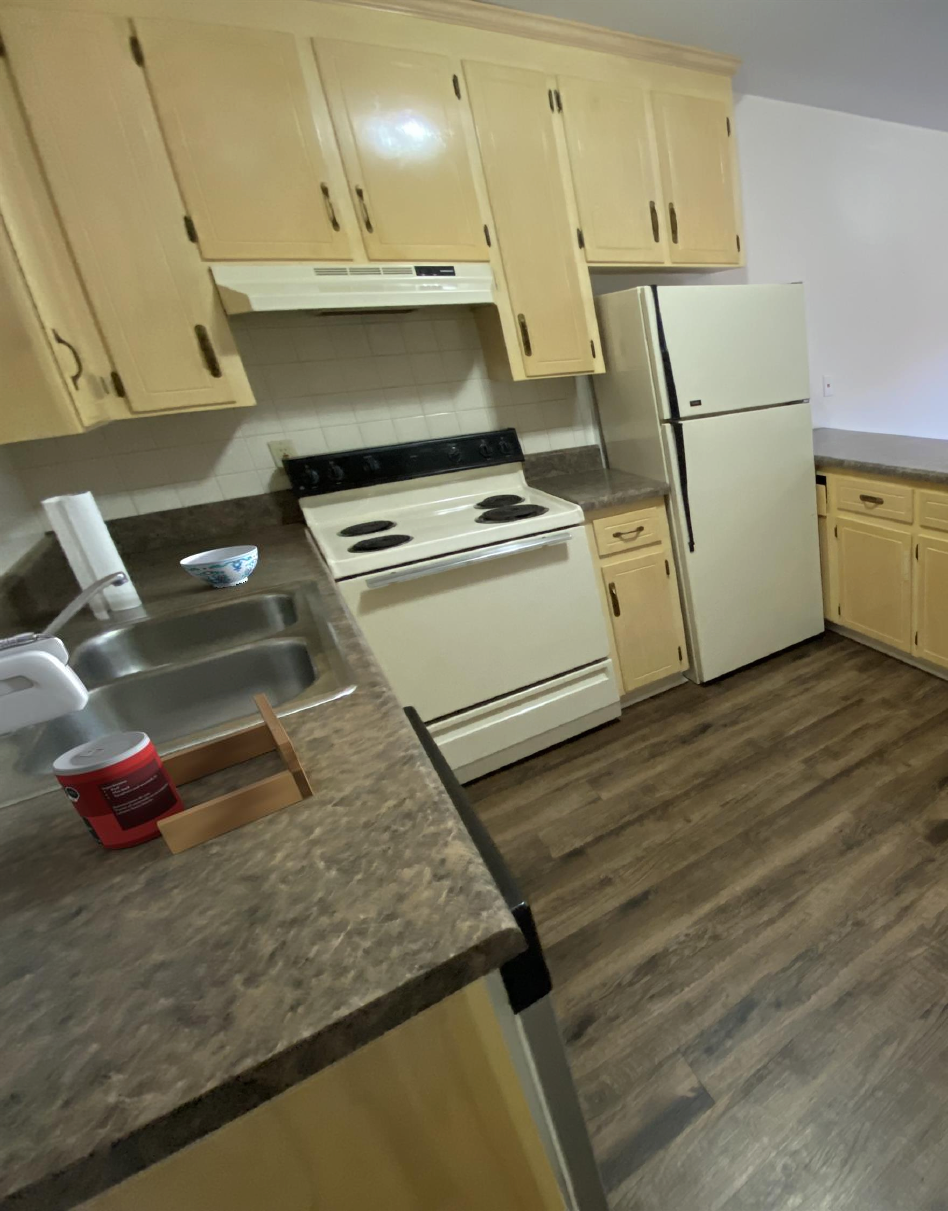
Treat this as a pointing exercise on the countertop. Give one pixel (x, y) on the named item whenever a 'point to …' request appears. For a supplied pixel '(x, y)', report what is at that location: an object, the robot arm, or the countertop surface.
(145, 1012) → the countertop surface
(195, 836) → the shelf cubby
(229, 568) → the chinaware
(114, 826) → the canned food
